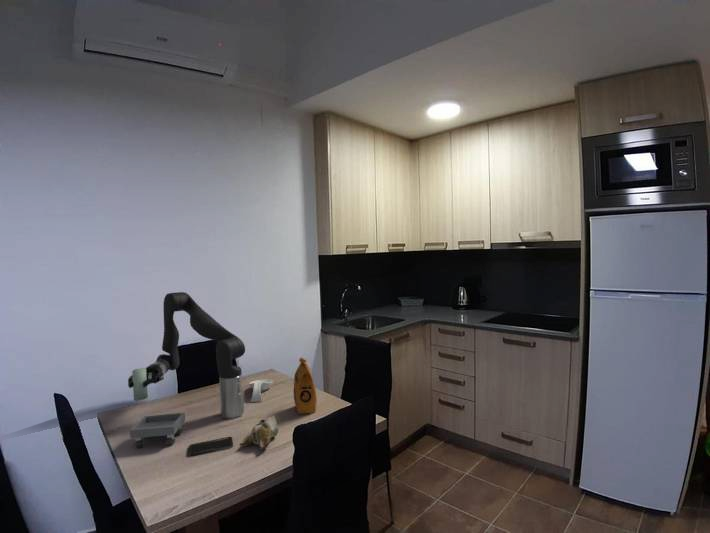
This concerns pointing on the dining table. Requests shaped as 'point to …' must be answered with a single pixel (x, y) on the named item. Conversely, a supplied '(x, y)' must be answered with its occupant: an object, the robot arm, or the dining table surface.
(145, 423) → the tray
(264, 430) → the ceramic sculpture
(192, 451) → the phone
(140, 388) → the pale green cylinder
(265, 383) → the white t-shaped piece
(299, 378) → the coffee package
